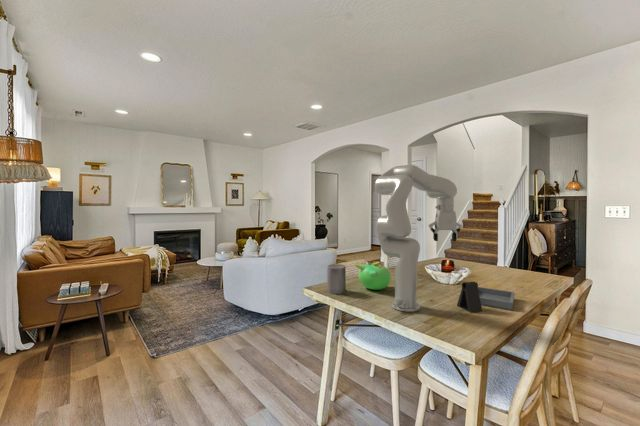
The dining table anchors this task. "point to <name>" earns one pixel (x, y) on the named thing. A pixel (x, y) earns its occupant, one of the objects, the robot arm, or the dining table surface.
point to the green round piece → (374, 276)
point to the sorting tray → (496, 298)
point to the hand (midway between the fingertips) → (444, 240)
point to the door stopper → (470, 297)
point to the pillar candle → (336, 279)
